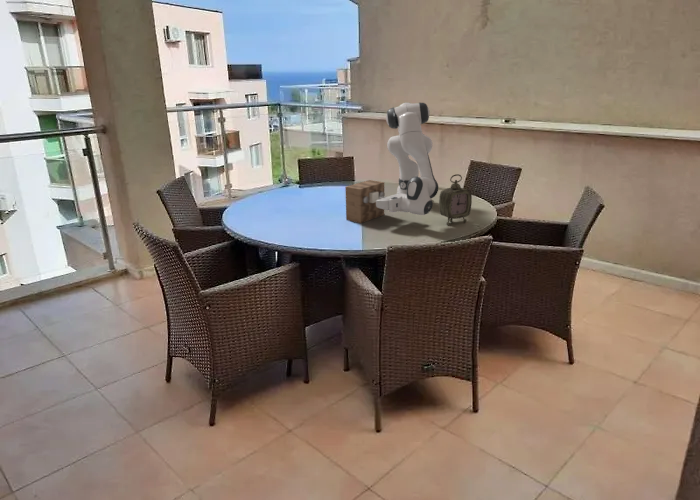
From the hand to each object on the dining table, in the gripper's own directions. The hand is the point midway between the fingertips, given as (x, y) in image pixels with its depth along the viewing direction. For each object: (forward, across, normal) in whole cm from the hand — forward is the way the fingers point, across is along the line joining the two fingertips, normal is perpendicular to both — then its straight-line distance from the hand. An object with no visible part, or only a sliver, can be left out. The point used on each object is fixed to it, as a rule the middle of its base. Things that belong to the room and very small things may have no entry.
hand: (380, 198), depth 250 cm
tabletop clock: (-32, -20, +12) cm, 40 cm away
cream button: (+5, 0, +3) cm, 6 cm away
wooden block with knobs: (+9, 0, +12) cm, 15 cm away
